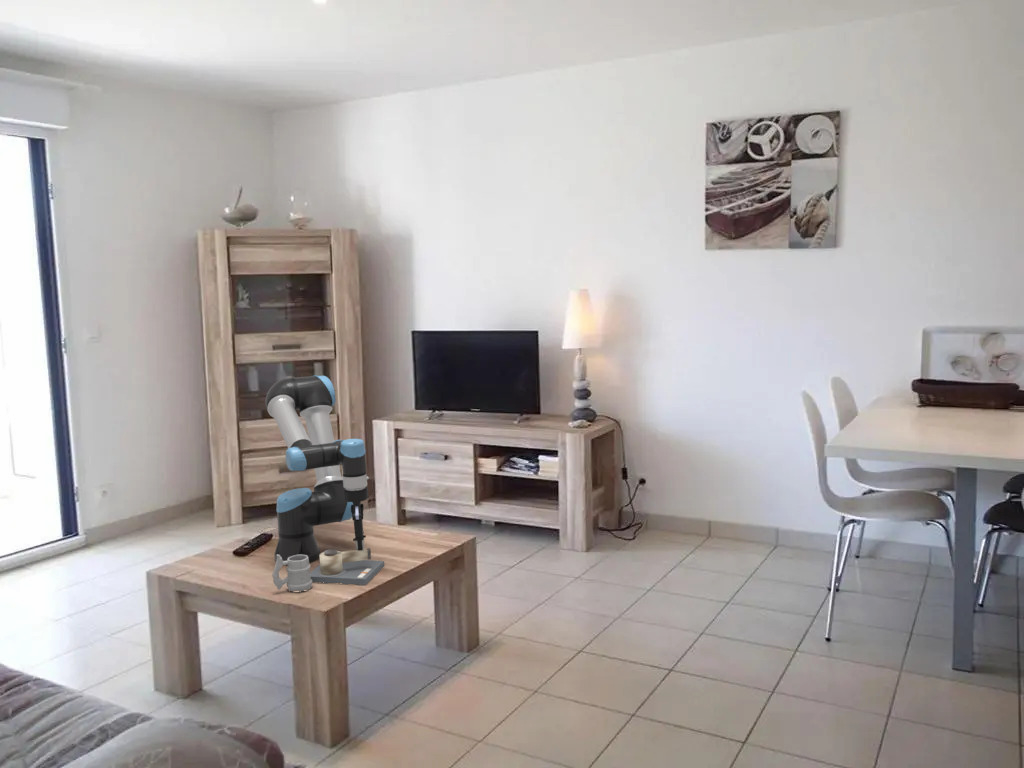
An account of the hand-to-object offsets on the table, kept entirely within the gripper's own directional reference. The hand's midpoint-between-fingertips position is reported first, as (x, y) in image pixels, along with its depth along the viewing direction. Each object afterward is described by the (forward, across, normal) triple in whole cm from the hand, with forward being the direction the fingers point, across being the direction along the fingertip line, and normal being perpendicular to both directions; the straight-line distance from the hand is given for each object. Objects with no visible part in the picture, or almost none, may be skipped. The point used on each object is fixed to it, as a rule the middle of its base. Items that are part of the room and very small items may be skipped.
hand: (361, 558), depth 274 cm
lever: (+2, -2, +5) cm, 6 cm away
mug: (+5, -11, +21) cm, 24 cm away
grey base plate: (+5, 0, +5) cm, 7 cm away
